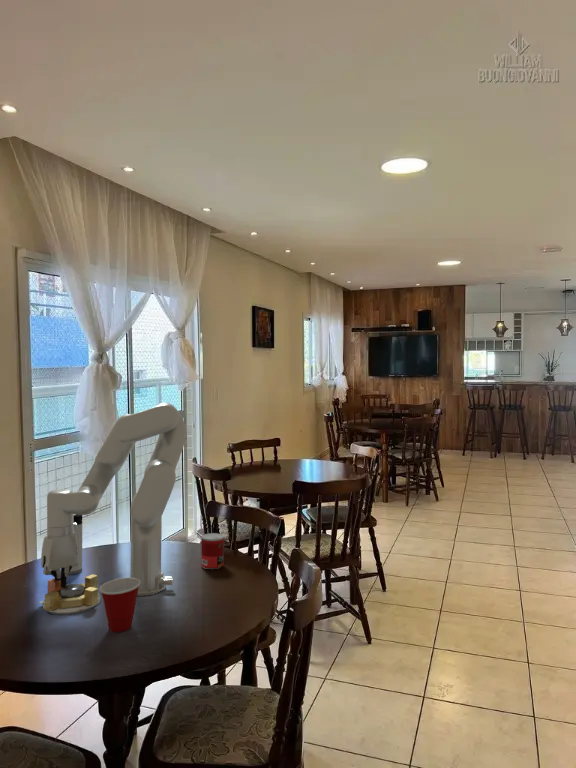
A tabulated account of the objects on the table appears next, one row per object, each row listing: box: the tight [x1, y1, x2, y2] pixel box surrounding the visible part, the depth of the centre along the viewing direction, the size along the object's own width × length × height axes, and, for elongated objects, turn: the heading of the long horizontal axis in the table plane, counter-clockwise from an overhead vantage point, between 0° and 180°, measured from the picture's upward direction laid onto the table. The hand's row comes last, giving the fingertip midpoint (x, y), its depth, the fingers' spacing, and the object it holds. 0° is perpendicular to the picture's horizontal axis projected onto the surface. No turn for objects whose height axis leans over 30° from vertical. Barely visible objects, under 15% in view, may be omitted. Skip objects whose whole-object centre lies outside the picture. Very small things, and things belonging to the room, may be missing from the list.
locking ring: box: [43, 573, 99, 611], centre depth 161 cm, size 14×14×4 cm
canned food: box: [200, 532, 225, 568], centre depth 194 cm, size 8×8×11 cm
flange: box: [39, 583, 102, 616], centre depth 161 cm, size 16×16×4 cm
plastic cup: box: [98, 577, 141, 633], centre depth 146 cm, size 11×11×12 cm
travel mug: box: [68, 514, 83, 575], centre depth 187 cm, size 6×7×20 cm
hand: (60, 589), depth 166 cm, fingers closed
